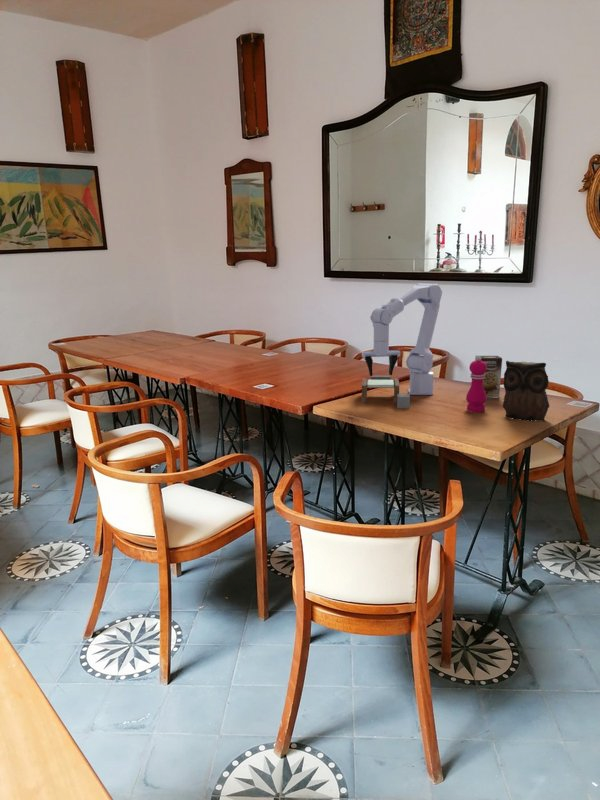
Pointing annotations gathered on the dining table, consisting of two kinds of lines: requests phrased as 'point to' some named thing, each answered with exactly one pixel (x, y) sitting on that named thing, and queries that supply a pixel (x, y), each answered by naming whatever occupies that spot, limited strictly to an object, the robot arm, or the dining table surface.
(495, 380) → the coffee box
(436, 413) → the dining table surface
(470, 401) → the pepper mill
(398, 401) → the grey cube
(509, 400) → the owl
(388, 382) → the trapdoor
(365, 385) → the frame
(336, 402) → the dining table surface
